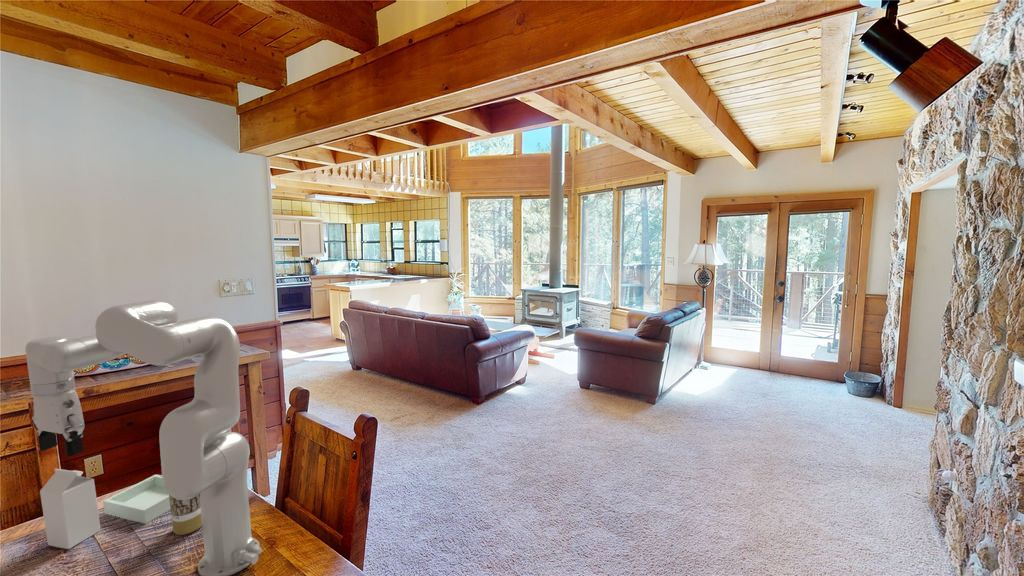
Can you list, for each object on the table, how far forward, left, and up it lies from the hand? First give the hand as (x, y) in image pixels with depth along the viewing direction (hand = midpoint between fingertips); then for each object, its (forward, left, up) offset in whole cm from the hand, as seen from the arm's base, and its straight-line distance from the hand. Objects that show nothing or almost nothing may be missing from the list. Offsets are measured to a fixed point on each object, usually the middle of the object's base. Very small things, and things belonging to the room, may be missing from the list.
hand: (61, 451), depth 109 cm
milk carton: (0, 0, -24) cm, 24 cm away
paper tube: (-25, -11, -24) cm, 37 cm away
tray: (-4, -16, -24) cm, 29 cm away
